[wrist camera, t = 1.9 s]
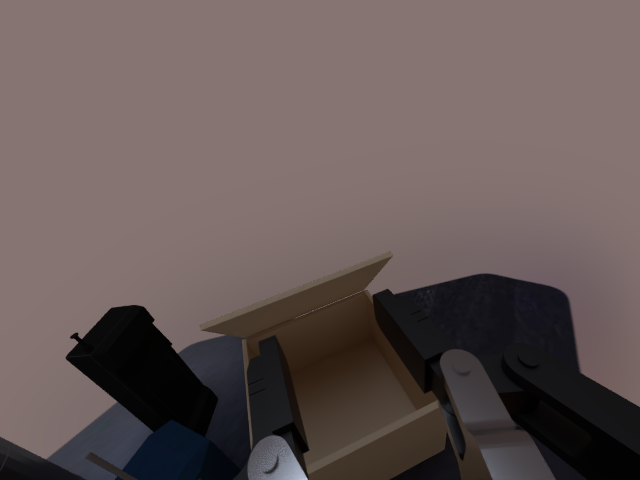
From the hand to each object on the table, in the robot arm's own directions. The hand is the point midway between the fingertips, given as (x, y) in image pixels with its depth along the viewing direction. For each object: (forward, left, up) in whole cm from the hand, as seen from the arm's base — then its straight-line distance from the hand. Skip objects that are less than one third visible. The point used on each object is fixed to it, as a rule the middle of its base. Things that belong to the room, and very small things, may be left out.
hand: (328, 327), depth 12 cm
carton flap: (+9, +13, -13) cm, 21 cm away
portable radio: (-7, +29, -32) cm, 44 cm away
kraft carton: (+6, +9, -32) cm, 34 cm away
